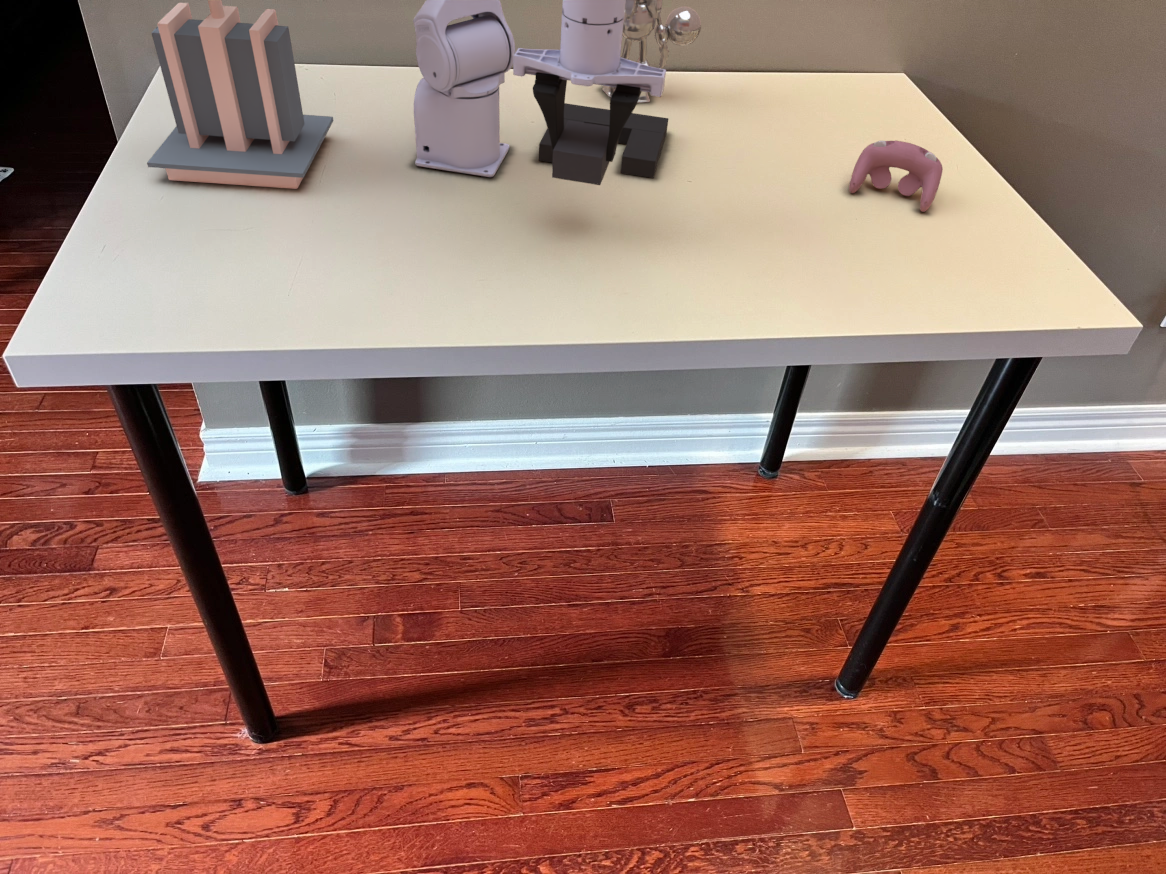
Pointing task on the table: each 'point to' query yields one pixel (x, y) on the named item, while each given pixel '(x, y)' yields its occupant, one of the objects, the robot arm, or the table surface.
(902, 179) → the video game controller
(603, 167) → the pad
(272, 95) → the striped block on base
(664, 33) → the robot toy
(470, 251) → the table surface
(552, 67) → the robot arm
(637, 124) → the notched dark slab
